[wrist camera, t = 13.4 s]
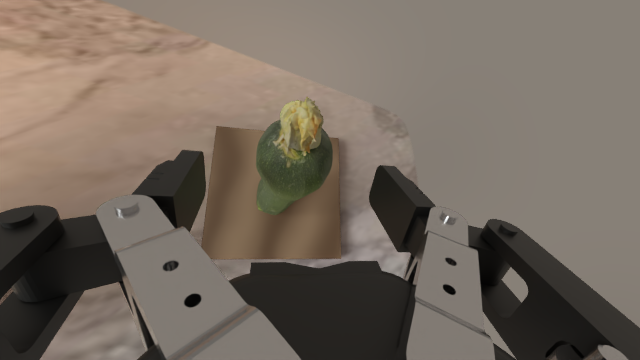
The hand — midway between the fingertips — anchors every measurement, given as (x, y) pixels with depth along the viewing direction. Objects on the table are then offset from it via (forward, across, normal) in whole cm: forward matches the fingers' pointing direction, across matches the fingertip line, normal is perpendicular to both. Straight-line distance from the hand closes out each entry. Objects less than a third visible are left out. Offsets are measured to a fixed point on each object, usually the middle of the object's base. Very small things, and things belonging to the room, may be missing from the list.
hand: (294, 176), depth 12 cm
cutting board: (+14, 0, +10) cm, 18 cm away
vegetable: (+12, 0, +10) cm, 16 cm away
